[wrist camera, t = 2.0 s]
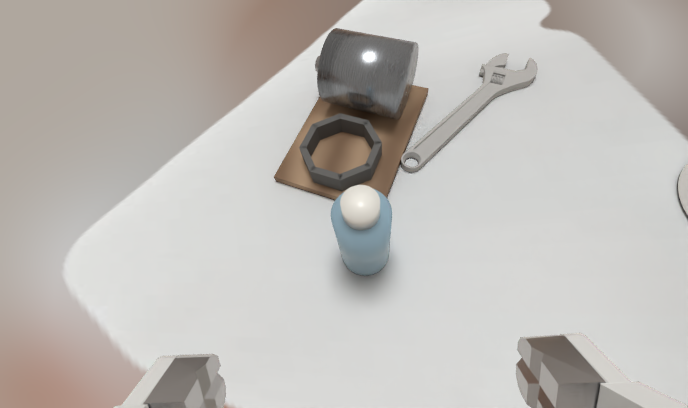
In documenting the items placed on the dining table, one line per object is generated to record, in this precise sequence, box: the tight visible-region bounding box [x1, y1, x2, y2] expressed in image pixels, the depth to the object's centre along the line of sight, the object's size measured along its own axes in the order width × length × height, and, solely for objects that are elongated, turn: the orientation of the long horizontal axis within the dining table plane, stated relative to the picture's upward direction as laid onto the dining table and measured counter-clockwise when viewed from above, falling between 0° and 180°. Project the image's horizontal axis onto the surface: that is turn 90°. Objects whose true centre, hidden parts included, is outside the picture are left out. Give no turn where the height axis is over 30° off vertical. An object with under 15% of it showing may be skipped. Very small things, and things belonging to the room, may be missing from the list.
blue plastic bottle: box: [331, 185, 392, 276], centre depth 32 cm, size 5×5×12 cm
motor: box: [315, 28, 418, 119], centre depth 43 cm, size 12×9×9 cm
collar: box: [299, 113, 382, 191], centre depth 41 cm, size 9×9×2 cm
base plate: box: [274, 85, 428, 200], centre depth 45 cm, size 14×20×1 cm
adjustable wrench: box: [401, 53, 538, 172], centre depth 45 cm, size 25×6×2 cm, turn 129°
